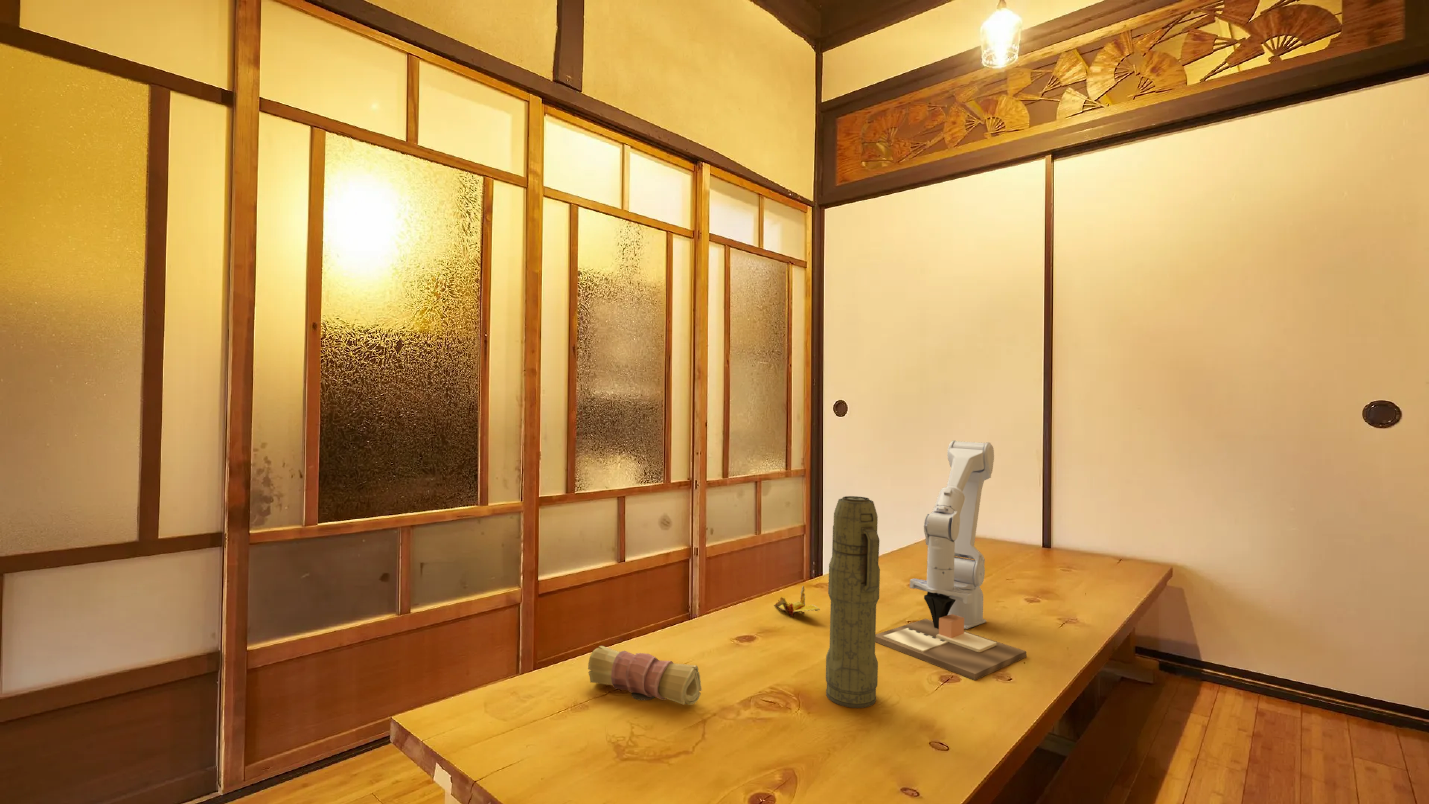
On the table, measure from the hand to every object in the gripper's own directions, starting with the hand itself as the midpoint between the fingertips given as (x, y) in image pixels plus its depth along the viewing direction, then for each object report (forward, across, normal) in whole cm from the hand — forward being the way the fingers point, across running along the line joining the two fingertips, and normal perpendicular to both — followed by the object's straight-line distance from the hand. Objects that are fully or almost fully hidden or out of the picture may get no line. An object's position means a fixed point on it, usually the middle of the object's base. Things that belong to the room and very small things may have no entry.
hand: (939, 627), depth 141 cm
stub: (+1, +6, 0) cm, 7 cm away
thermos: (+3, +8, -39) cm, 40 cm away
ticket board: (+2, +5, -4) cm, 7 cm away
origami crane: (+3, -29, -16) cm, 33 cm away
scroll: (+3, -13, -68) cm, 70 cm away
